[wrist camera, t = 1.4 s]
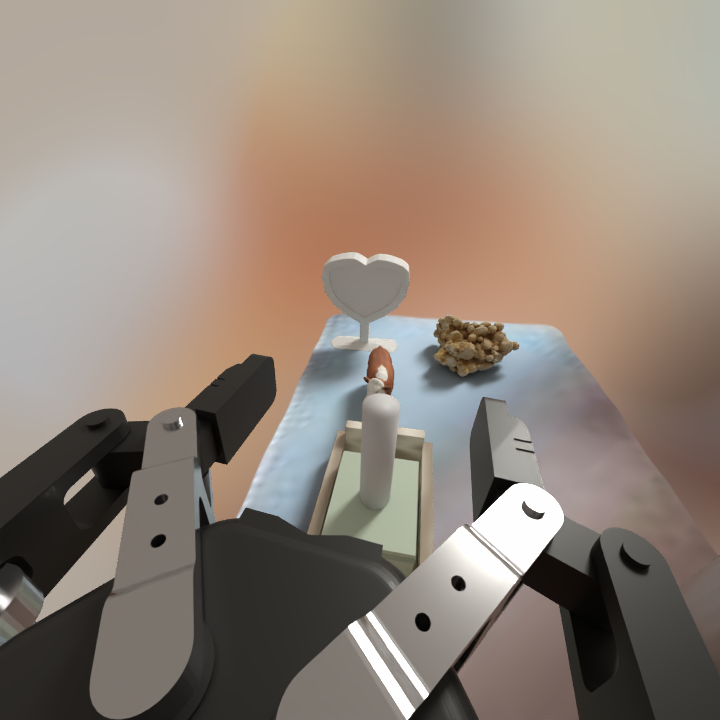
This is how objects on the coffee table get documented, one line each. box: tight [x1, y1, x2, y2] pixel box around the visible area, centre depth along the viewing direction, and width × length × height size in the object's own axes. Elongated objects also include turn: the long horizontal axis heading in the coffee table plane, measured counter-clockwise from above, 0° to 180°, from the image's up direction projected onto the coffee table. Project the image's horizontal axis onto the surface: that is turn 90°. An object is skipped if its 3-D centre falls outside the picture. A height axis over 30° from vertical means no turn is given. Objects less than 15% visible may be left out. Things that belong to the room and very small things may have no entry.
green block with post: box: [321, 393, 419, 578], centre depth 31 cm, size 8×10×17 cm
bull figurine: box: [364, 345, 394, 398], centre depth 52 cm, size 4×13×8 cm, turn 173°
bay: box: [307, 420, 433, 572], centre depth 29 cm, size 12×34×6 cm, turn 170°
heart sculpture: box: [322, 252, 410, 353], centre depth 63 cm, size 16×5×18 cm, turn 84°
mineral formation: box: [434, 315, 519, 377], centre depth 62 cm, size 8×13×15 cm
